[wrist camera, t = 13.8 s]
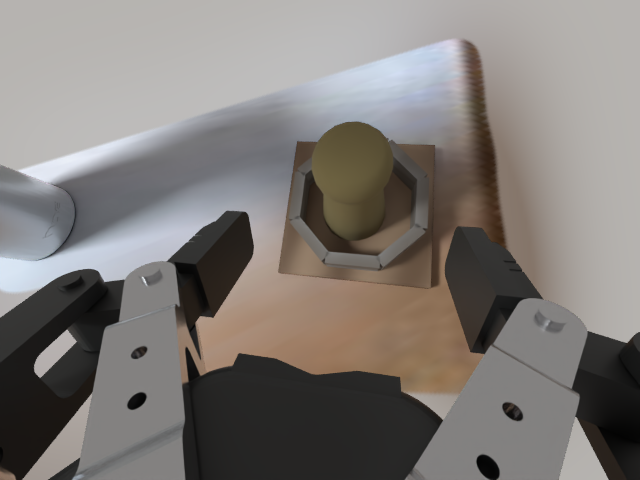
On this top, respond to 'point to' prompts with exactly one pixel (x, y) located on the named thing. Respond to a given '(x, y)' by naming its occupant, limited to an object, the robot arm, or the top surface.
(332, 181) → the cork
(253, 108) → the top surface
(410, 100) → the top surface
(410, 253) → the socket base
